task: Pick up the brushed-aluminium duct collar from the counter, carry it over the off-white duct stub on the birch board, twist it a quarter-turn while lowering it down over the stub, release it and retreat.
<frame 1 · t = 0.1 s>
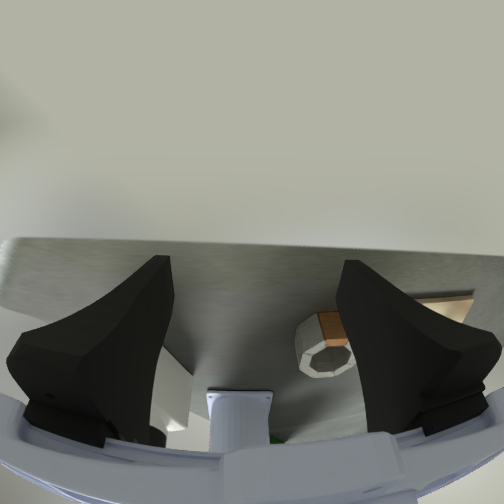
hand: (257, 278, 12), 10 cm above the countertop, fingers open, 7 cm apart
medicine bottle: (152, 363, 30), on the countertop
collar: (322, 333, 28), on the countertop
duct board: (416, 342, 30), on the countertop
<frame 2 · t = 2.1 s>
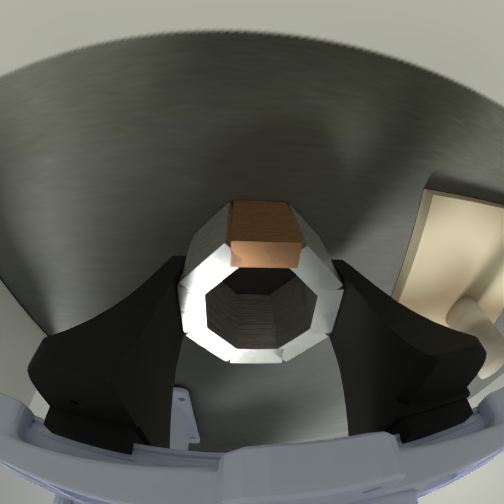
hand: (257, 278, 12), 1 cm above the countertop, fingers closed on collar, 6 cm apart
medicine bottle: (8, 319, 15), on the countertop
collar: (256, 260, 13), on the countertop, touching gripper
duct board: (454, 303, 15), on the countertop
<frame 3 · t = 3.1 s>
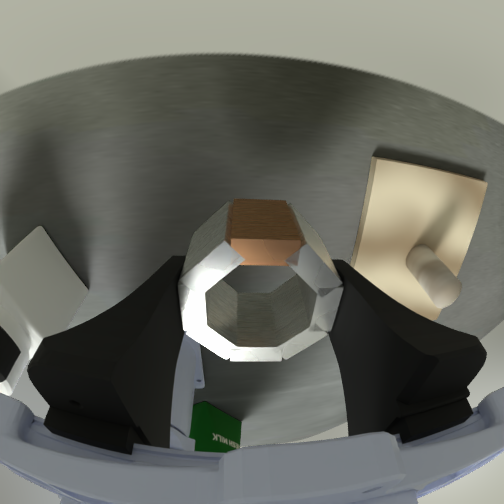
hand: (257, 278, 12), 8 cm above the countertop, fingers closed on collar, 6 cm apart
medicine bottle: (45, 271, 21), on the countertop
milk carton: (202, 417, 33), on the countertop
collar: (256, 259, 13), point 6 cm above the countertop, touching gripper
duct board: (413, 252, 21), on the countertop
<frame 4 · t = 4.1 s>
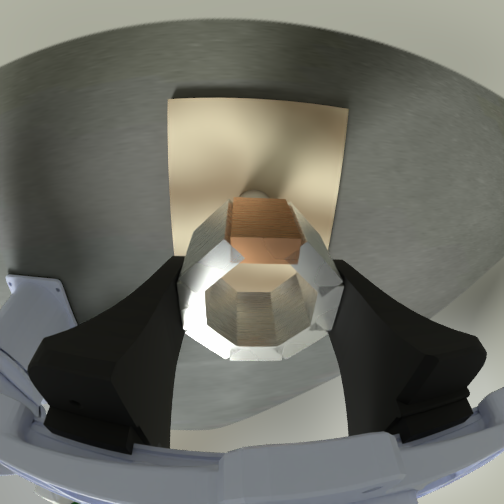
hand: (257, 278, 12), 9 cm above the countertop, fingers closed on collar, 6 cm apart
milk carton: (104, 388, 31), on the countertop
collar: (256, 258, 13), point 7 cm above the countertop, touching gripper
duct board: (253, 203, 20), on the countertop
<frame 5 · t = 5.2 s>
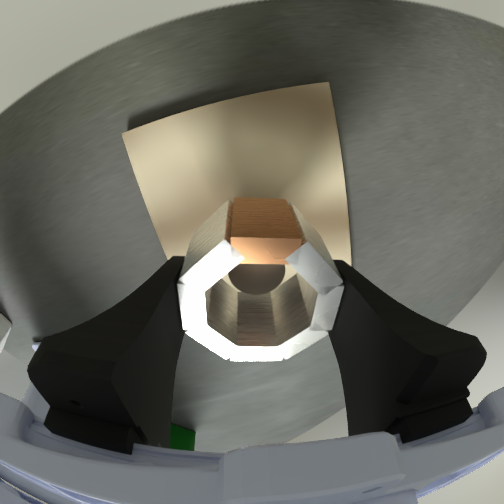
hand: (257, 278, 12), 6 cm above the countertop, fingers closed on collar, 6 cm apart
milk carton: (159, 429, 31), on the countertop
collar: (256, 258, 13), point 5 cm above the countertop, touching gripper
duct board: (252, 219, 17), on the countertop
when the fingers open (4 cm above the countertop, at t = 6.2 s): collar drops 1 cm, resting on duct board.
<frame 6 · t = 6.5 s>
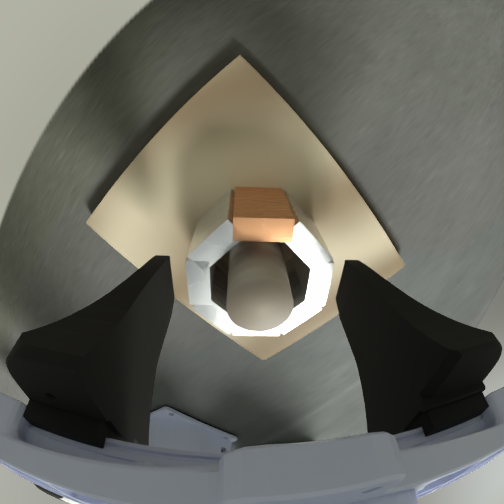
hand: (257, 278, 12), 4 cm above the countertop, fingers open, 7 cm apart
collar: (255, 242, 14), point 1 cm above the countertop, touching duct board
duct board: (254, 237, 15), on the countertop
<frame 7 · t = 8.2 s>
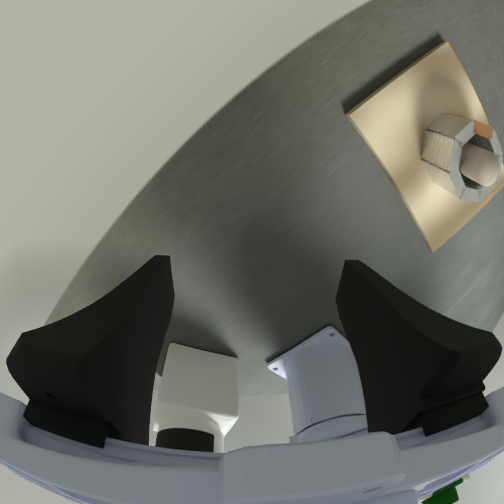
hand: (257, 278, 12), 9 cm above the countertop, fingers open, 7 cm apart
medicine bottle: (198, 367, 29), on the countertop
milk carton: (388, 386, 34), on the countertop
collar: (449, 150, 17), point 1 cm above the countertop, touching duct board
duct board: (443, 149, 18), on the countertop
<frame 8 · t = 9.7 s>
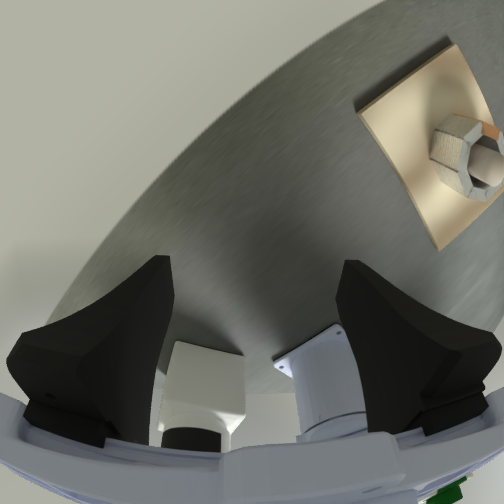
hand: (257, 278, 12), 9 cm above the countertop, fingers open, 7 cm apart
medicine bottle: (203, 366, 29), on the countertop
milk carton: (392, 385, 34), on the countertop
collar: (457, 150, 17), point 1 cm above the countertop, touching duct board
duct board: (450, 149, 18), on the countertop
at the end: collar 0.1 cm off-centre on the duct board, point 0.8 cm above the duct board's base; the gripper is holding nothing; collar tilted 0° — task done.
